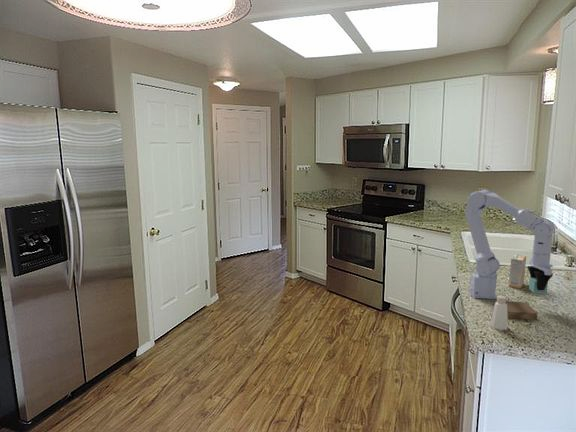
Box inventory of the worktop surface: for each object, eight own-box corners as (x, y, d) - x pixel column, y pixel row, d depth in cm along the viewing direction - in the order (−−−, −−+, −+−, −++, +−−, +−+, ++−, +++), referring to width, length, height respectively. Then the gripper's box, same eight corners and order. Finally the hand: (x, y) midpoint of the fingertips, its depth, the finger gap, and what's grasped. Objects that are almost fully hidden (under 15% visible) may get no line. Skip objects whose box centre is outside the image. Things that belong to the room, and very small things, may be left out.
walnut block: (506, 317, 146) (507, 311, 146) (497, 307, 156) (498, 300, 155) (536, 319, 144) (537, 313, 144) (525, 308, 154) (526, 302, 153)
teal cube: (533, 292, 151) (534, 281, 150) (528, 288, 156) (529, 277, 155) (546, 293, 150) (547, 282, 150) (541, 289, 155) (542, 278, 154)
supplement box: (512, 281, 184) (514, 254, 181) (524, 283, 181) (526, 255, 178) (508, 286, 177) (510, 258, 175) (520, 289, 174) (523, 260, 172)
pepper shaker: (491, 328, 138) (493, 298, 136) (489, 322, 143) (491, 293, 141) (508, 331, 136) (511, 300, 134) (506, 324, 141) (509, 294, 139)
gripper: (562, 258, 143) (558, 295, 145) (544, 248, 157) (541, 281, 159) (541, 258, 144) (537, 293, 146) (525, 247, 158) (521, 280, 160)
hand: (537, 287), depth 153 cm, fingers closed on teal cube, 4 cm apart
